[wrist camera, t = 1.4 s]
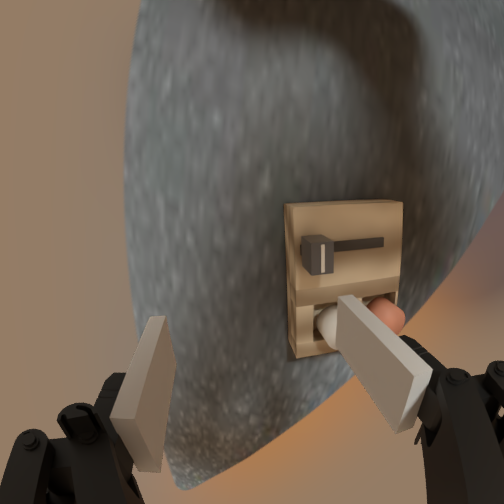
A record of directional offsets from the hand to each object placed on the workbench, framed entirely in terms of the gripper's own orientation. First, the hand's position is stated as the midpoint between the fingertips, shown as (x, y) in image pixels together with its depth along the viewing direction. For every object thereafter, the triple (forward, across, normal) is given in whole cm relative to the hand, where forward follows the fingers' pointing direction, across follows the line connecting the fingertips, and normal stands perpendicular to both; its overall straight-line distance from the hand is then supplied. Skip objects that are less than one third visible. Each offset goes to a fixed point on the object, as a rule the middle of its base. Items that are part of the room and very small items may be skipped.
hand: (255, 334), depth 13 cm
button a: (+14, +15, -8) cm, 22 cm away
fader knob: (+14, +7, 0) cm, 15 cm away
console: (+18, +12, -4) cm, 22 cm away
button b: (+14, +10, -8) cm, 19 cm away
